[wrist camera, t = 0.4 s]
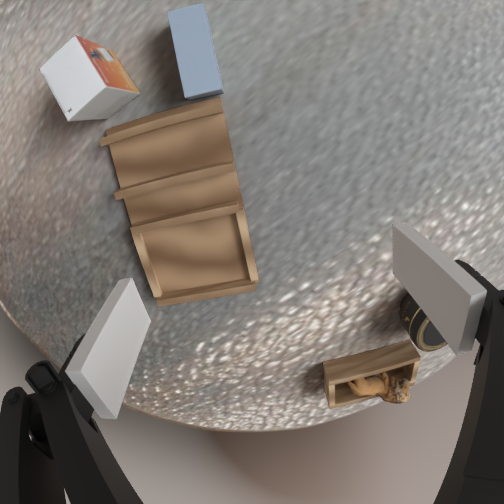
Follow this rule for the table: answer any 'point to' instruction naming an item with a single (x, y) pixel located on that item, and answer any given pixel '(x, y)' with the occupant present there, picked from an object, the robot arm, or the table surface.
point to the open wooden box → (368, 371)
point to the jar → (420, 326)
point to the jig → (184, 202)
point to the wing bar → (195, 52)
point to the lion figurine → (382, 388)
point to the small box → (88, 80)
